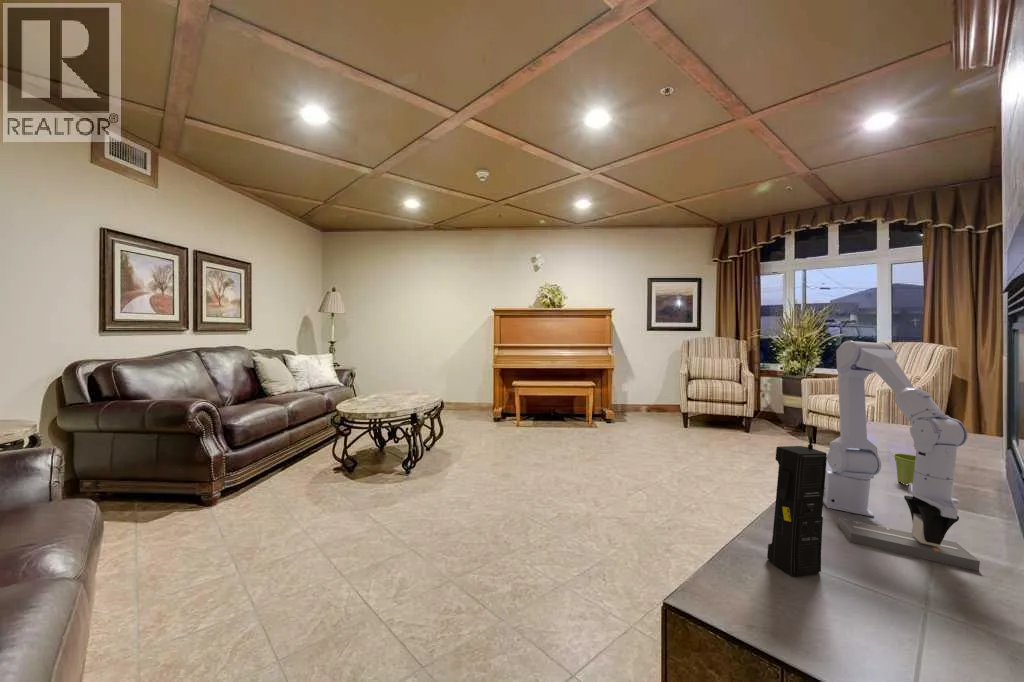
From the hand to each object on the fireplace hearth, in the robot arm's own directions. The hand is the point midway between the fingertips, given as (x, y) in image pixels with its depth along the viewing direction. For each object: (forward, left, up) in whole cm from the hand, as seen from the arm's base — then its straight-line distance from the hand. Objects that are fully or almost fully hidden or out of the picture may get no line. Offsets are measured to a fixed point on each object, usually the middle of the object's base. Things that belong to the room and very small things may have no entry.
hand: (926, 537), depth 84 cm
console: (-4, 0, -3) cm, 5 cm away
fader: (0, 0, -1) cm, 1 cm away
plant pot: (+17, +54, -3) cm, 57 cm away
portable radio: (-28, -23, -3) cm, 36 cm away
